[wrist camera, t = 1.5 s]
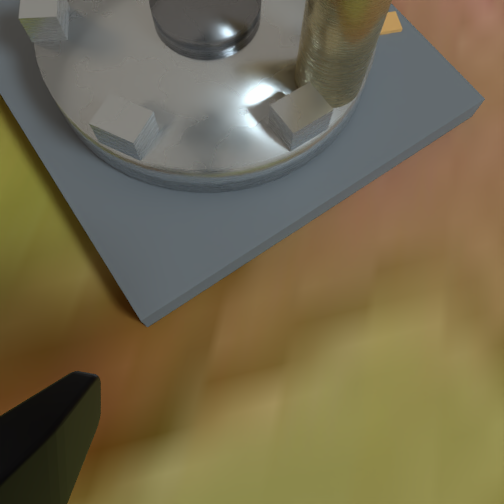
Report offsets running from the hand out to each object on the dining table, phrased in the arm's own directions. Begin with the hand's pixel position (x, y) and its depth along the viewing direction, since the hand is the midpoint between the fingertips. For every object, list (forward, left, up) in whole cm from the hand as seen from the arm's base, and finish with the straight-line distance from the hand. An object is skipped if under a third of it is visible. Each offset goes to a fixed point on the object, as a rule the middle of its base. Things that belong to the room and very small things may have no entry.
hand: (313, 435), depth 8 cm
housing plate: (+16, -8, -13) cm, 23 cm away
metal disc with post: (+16, -8, -12) cm, 22 cm away
